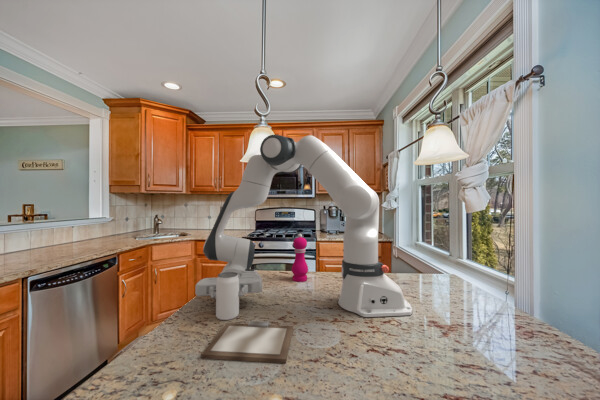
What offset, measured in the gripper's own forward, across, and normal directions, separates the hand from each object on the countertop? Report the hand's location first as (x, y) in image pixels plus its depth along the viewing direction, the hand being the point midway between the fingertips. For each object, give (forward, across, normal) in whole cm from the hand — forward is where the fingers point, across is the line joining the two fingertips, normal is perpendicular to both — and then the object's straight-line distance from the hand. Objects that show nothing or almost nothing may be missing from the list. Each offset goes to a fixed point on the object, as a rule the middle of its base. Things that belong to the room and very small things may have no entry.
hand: (227, 294), depth 72 cm
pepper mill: (-32, +27, +7) cm, 42 cm away
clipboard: (+14, +7, +7) cm, 17 cm away
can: (-1, 0, +7) cm, 7 cm away
